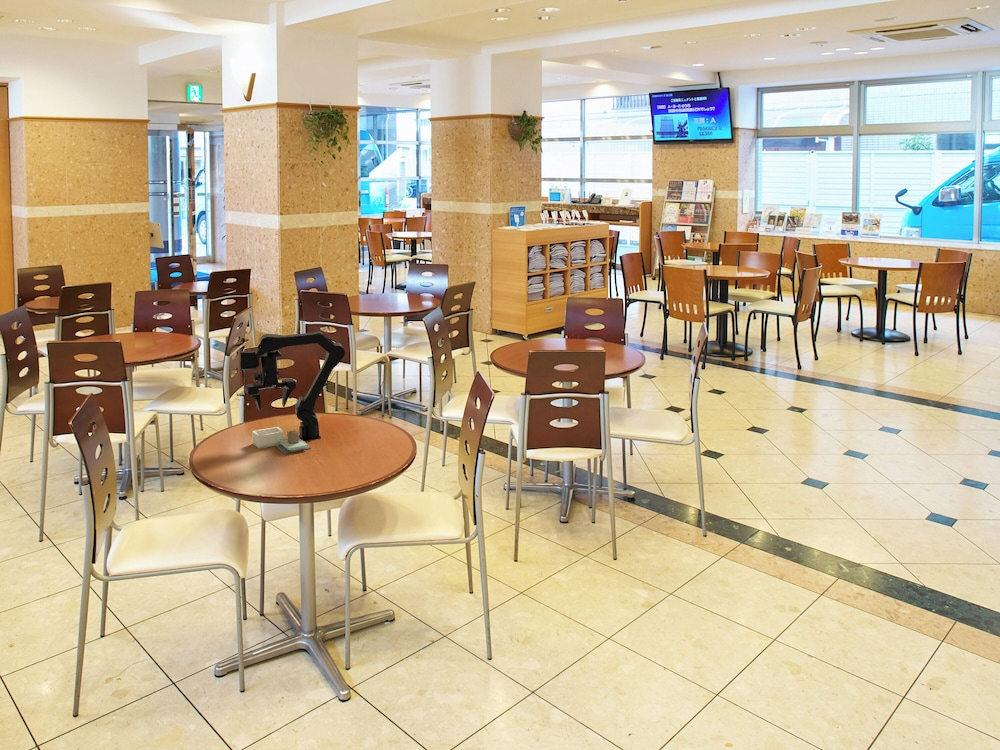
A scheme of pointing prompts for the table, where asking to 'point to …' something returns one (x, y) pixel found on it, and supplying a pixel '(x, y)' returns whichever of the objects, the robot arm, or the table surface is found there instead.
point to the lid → (293, 441)
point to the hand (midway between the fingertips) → (271, 408)
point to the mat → (289, 450)
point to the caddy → (267, 437)
